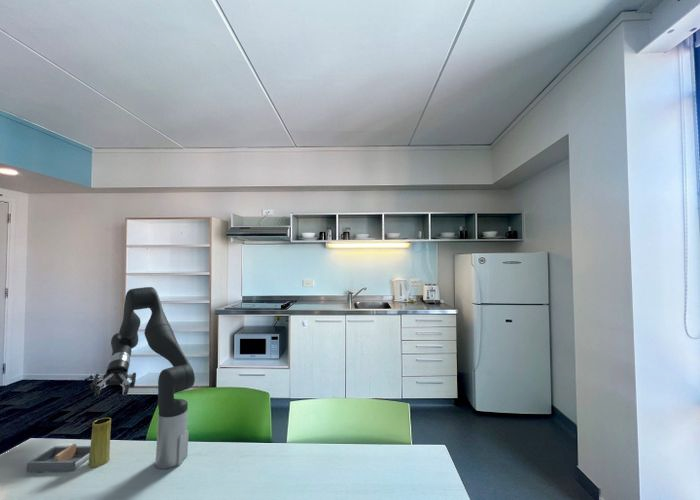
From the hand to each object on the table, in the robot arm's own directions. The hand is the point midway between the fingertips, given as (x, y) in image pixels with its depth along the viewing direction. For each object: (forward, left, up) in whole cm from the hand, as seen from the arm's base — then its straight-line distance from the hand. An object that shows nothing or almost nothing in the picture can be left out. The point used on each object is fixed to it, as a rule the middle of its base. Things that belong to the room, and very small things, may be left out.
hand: (111, 395), depth 119 cm
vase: (-4, +9, -20) cm, 22 cm away
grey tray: (+9, +9, -20) cm, 24 cm away
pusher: (+8, +9, -19) cm, 23 cm away
